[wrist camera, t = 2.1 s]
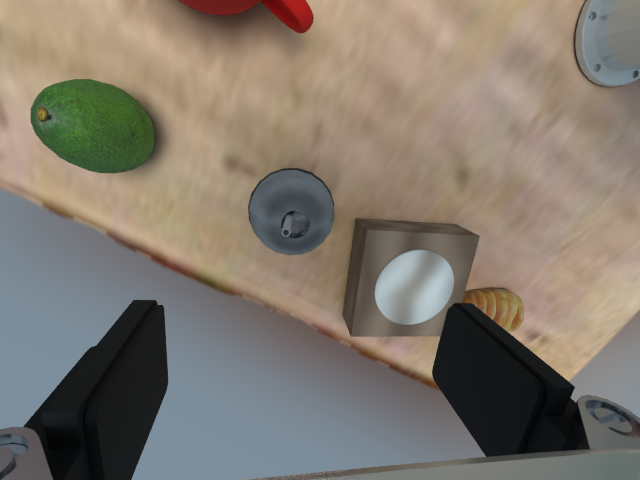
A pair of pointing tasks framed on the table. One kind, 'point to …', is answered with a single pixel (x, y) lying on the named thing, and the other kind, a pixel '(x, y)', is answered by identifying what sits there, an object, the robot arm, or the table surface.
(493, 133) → the table surface
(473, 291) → the pastry
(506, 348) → the robot arm
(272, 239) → the beverage cup
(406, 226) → the walnut stand
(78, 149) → the fruit
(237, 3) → the ceramic cup
